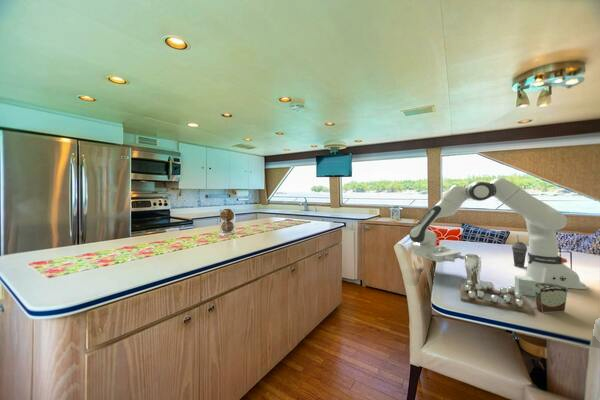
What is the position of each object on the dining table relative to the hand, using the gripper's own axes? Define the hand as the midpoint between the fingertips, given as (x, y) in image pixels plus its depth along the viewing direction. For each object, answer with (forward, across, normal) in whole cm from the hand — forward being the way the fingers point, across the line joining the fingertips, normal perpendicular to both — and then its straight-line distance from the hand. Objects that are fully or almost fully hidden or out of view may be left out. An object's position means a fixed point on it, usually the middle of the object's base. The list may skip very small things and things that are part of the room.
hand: (459, 259), depth 135 cm
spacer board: (+22, -12, +11) cm, 27 cm away
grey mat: (+9, 0, +11) cm, 14 cm away
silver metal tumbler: (+9, -3, +11) cm, 14 cm away
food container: (+37, -3, +11) cm, 39 cm away
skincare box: (+26, +8, +11) cm, 29 cm away
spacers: (+22, -12, +11) cm, 27 cm away
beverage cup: (+5, +54, +11) cm, 56 cm away
